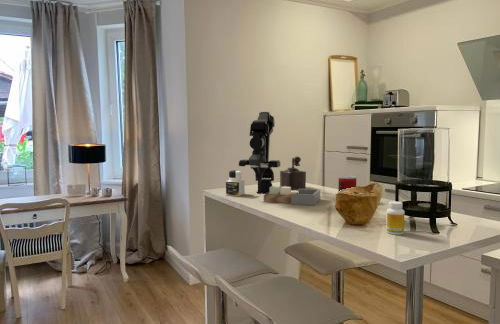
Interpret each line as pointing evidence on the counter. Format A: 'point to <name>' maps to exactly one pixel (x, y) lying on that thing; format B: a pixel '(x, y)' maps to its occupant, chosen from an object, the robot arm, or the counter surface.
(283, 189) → the cream tile
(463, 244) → the counter surface
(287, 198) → the riser board
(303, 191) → the box
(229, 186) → the medicine bottle
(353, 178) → the canned food
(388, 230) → the supplement bottle
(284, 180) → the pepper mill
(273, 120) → the robot arm
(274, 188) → the sage tile
